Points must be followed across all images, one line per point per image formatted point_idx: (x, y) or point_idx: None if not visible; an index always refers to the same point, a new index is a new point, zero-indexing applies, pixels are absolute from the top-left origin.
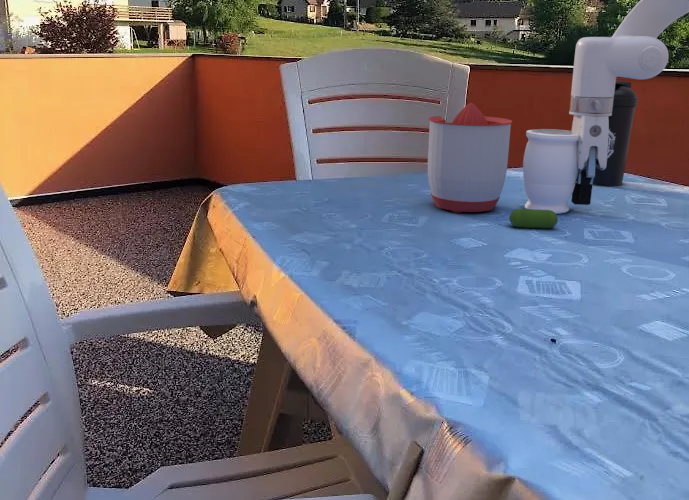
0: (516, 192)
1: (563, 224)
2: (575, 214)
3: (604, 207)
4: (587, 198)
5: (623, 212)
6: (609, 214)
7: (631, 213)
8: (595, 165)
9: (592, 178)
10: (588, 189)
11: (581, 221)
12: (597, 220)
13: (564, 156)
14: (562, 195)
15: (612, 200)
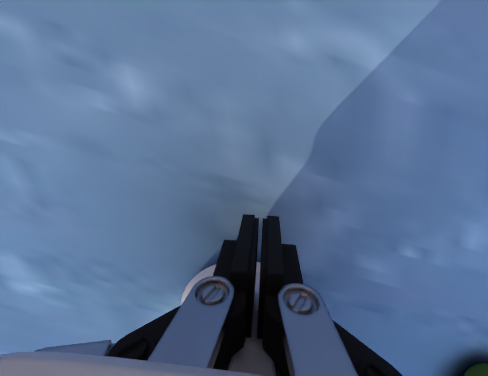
0: (35, 322)
1: (439, 320)
2: (304, 251)
3: (172, 110)
4: (294, 247)
5: (255, 50)
6: (298, 129)
7: (272, 12)
8: (143, 362)
9: (335, 332)
10: (300, 277)
11: (407, 262)
12: (398, 207)
13: None
14: None
15: (16, 25)
